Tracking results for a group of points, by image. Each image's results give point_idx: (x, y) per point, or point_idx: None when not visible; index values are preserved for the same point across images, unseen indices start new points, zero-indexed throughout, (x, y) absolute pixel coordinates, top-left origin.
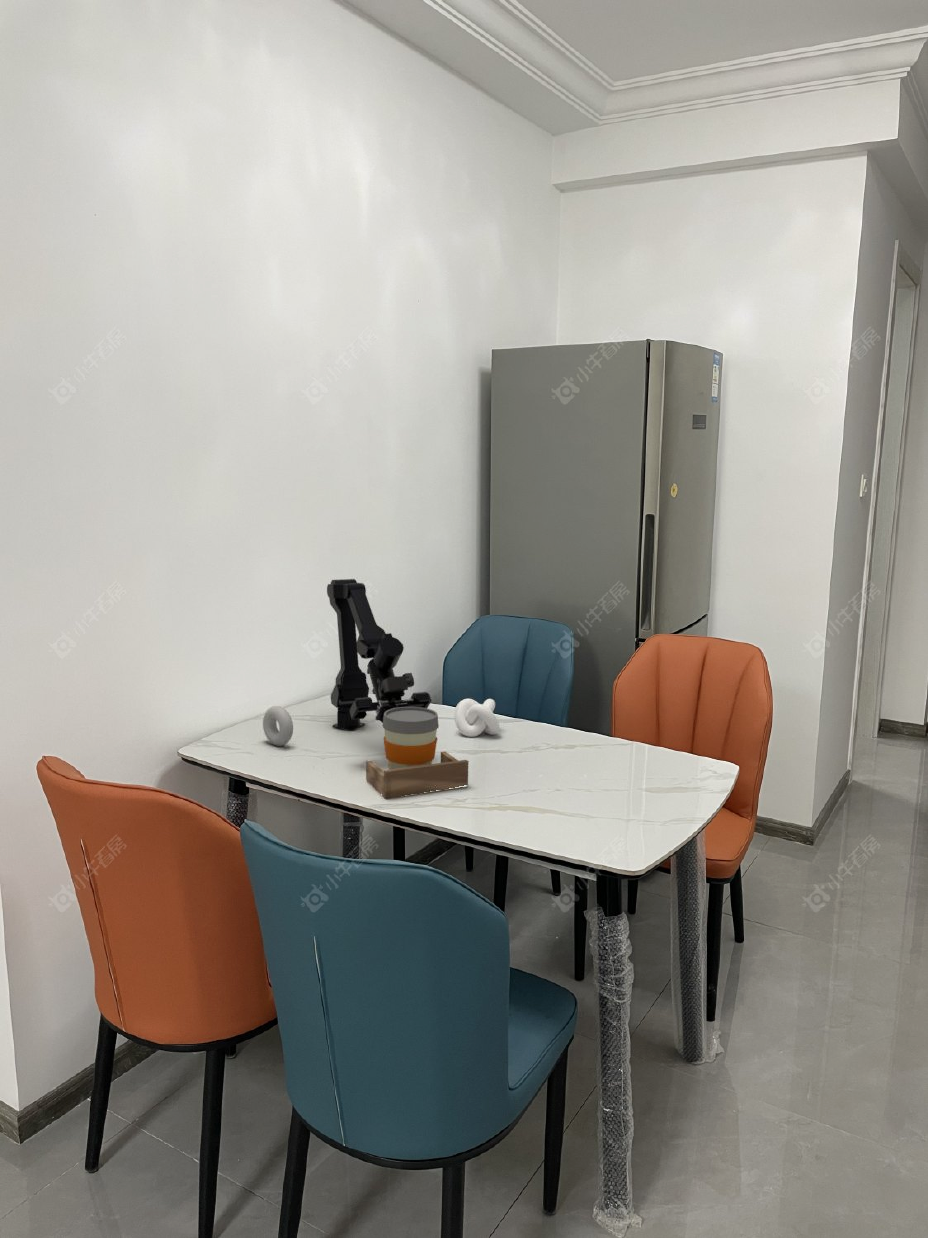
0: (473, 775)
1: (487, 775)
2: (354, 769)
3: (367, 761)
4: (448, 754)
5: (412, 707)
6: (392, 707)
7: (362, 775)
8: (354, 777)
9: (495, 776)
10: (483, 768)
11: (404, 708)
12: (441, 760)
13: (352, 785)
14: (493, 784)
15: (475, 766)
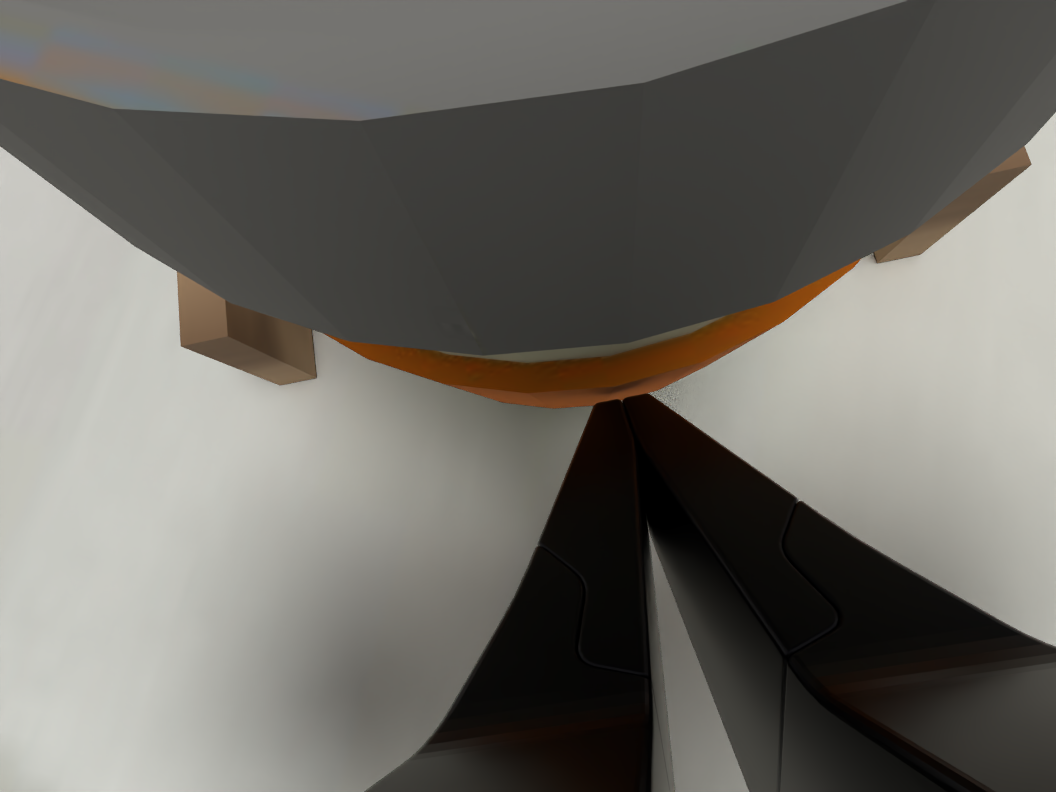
0: (139, 253)
1: (58, 241)
2: (1014, 541)
3: (1018, 154)
4: None
5: (100, 25)
6: (1039, 787)
7: (944, 377)
8: (1018, 341)
9: (22, 217)
10: (23, 376)
11: (492, 51)
12: (268, 338)
13: (1037, 172)
14: None
15: (54, 426)
